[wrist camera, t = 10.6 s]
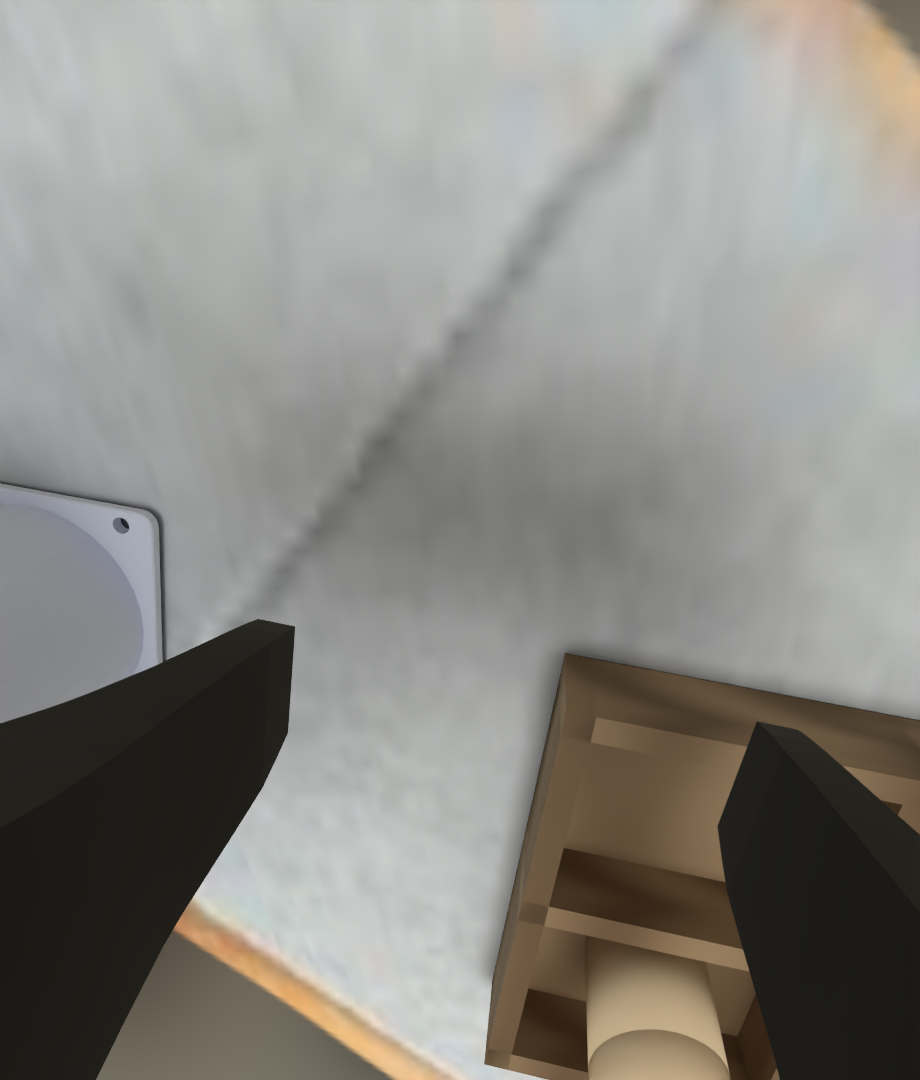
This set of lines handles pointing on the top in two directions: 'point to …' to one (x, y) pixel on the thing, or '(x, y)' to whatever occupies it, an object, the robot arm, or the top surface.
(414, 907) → the top surface
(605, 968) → the cylinder
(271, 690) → the robot arm
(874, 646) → the top surface
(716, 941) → the crate
